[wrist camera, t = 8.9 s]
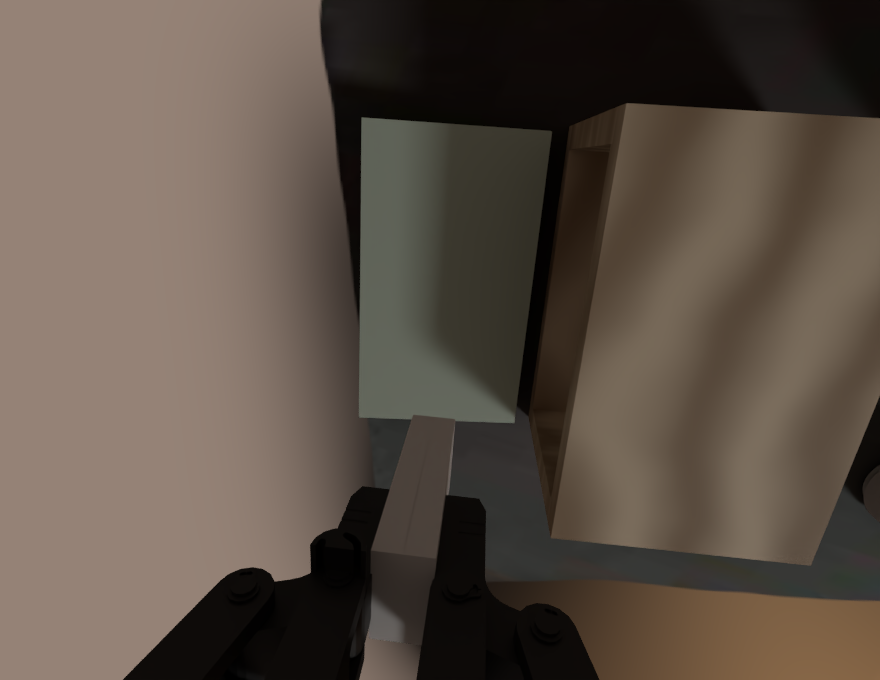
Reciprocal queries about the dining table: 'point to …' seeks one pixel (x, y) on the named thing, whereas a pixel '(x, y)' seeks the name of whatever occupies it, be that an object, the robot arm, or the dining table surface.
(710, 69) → the dining table surface
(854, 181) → the cabinet
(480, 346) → the door
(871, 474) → the energy drink can
